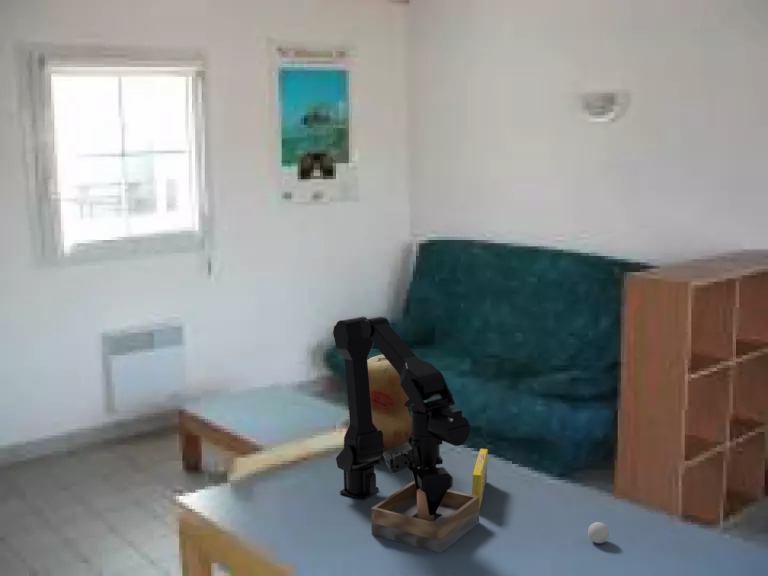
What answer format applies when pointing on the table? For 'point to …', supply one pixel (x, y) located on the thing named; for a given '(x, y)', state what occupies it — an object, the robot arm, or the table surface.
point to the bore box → (403, 525)
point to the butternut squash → (388, 402)
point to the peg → (423, 507)
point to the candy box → (480, 475)
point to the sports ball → (598, 532)
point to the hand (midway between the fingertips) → (426, 505)
